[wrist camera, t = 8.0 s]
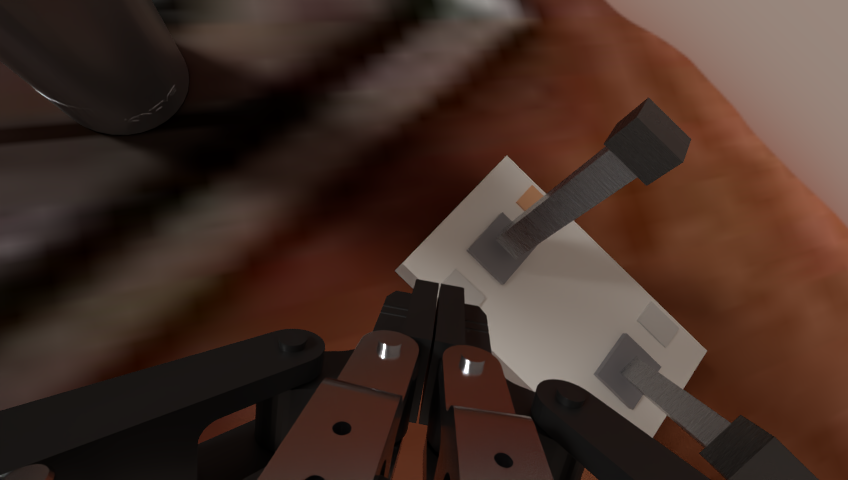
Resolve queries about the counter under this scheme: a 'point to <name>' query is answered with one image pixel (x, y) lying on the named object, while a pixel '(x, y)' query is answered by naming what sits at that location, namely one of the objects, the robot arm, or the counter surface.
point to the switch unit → (554, 300)
